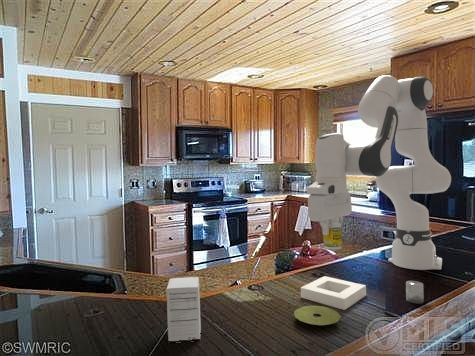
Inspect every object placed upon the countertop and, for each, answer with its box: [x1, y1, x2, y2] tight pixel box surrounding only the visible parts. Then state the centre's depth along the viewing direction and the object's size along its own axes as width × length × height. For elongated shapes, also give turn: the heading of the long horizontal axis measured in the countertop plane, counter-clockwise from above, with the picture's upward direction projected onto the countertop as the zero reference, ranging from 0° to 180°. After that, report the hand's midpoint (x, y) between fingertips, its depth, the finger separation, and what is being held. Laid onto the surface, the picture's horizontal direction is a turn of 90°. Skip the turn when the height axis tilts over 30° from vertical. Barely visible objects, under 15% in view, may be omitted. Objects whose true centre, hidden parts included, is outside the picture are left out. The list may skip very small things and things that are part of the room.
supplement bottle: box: [322, 216, 343, 250], centre depth 98 cm, size 5×5×10 cm
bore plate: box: [300, 275, 367, 311], centre depth 99 cm, size 14×14×3 cm
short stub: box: [405, 280, 425, 305], centre depth 94 cm, size 4×4×5 cm
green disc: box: [293, 305, 341, 326], centre depth 82 cm, size 11×11×2 cm
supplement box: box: [166, 276, 202, 341], centre depth 78 cm, size 7×7×13 cm
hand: (332, 233), depth 98 cm, fingers closed on supplement bottle, 5 cm apart
